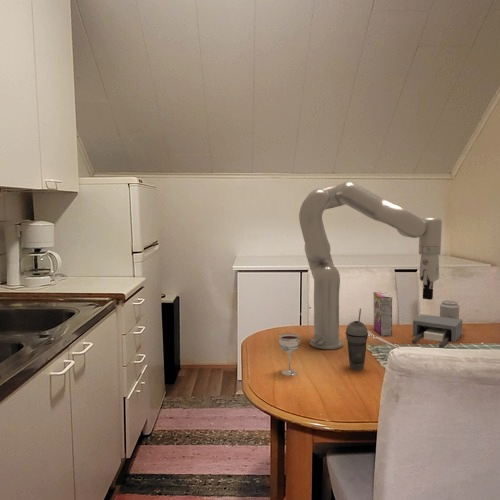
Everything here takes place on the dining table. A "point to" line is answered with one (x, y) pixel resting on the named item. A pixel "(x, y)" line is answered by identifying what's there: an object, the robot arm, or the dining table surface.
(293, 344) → the wineglass
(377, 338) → the fork
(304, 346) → the dining table surface
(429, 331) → the cream rectangular block
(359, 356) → the beverage cup
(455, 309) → the can
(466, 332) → the dining table surface
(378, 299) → the candy bar box
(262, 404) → the dining table surface
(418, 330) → the low shelf
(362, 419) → the dining table surface
